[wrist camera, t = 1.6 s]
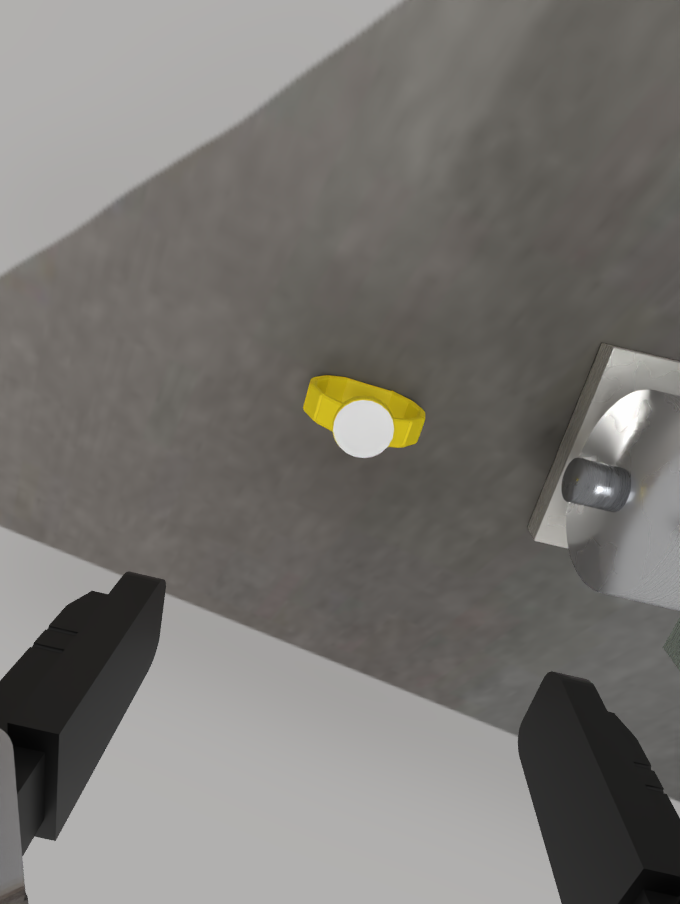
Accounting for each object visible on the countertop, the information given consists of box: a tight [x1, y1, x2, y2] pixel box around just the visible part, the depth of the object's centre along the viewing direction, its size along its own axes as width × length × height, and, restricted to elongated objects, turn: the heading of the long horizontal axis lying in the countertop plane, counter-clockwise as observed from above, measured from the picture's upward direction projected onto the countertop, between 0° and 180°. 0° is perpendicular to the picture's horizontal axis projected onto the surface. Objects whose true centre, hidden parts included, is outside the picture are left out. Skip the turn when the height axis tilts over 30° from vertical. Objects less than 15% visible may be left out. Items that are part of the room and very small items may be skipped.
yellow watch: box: [303, 375, 425, 458], centre depth 25 cm, size 6×3×6 cm, turn 74°
